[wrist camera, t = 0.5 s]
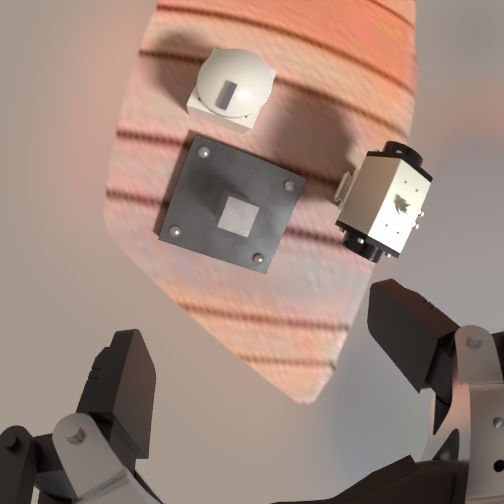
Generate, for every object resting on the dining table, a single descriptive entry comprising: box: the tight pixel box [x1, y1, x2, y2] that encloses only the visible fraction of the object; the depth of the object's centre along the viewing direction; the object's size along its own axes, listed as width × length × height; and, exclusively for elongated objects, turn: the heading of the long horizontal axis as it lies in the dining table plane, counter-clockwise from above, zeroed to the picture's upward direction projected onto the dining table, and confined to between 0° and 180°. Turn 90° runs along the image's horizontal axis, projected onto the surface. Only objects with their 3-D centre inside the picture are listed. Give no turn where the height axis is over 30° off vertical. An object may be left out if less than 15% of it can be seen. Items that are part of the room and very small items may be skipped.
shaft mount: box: [158, 135, 306, 274], centre depth 29 cm, size 12×13×6 cm
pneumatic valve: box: [333, 141, 433, 263], centre depth 28 cm, size 6×12×12 cm, turn 156°
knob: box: [187, 47, 277, 134], centre depth 24 cm, size 6×6×8 cm
